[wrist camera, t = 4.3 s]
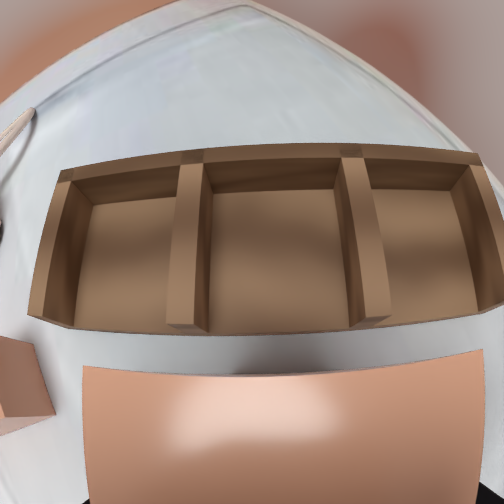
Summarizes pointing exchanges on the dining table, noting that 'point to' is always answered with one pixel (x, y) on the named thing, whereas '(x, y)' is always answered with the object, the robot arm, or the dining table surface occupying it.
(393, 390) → the clay bar
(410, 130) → the dining table surface
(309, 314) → the tray
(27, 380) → the clay bar
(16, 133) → the toilet paper hanger
